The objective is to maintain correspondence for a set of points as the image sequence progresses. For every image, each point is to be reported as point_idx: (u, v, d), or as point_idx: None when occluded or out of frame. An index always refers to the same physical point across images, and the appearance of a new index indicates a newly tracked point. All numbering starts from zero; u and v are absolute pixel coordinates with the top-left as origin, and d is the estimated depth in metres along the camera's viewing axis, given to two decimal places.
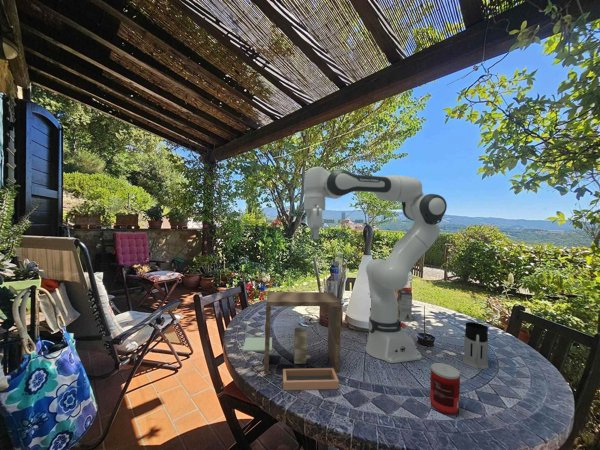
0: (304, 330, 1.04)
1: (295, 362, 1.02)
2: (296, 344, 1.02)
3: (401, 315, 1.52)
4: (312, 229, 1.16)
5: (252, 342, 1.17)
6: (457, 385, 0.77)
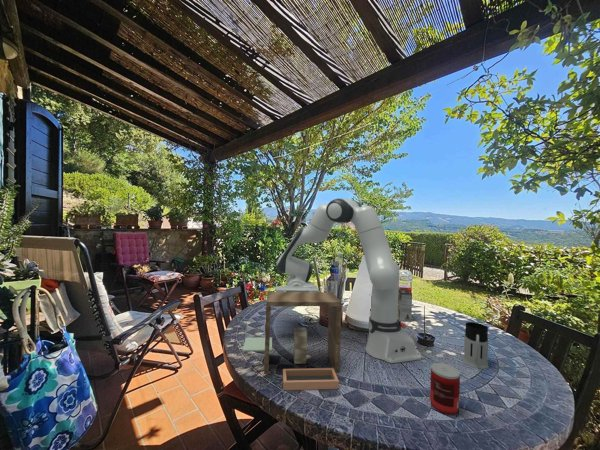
0: (304, 330, 1.04)
1: (295, 362, 1.02)
2: (296, 344, 1.02)
3: (401, 315, 1.52)
4: None
5: (252, 342, 1.17)
6: (457, 385, 0.77)
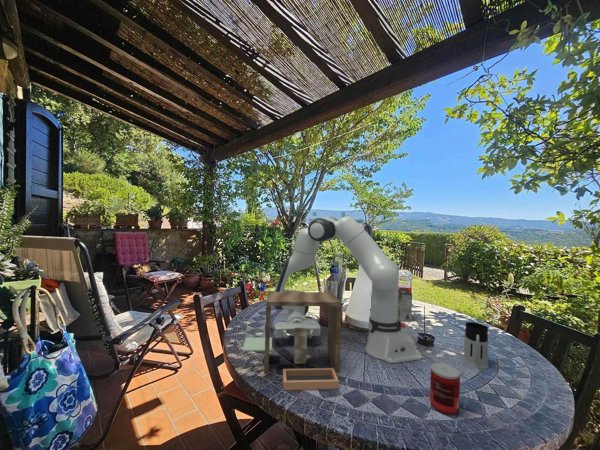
0: (304, 330, 1.04)
1: (295, 362, 1.02)
2: (296, 344, 1.02)
3: (401, 315, 1.52)
4: (309, 333, 1.15)
5: (252, 342, 1.17)
6: (457, 385, 0.77)
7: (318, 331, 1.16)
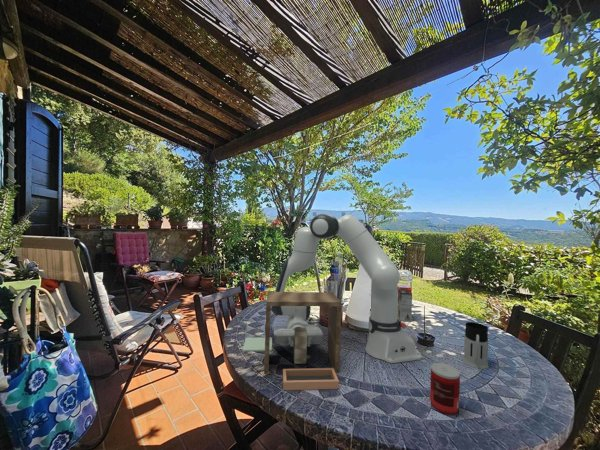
0: (304, 330, 1.04)
1: (295, 362, 1.02)
2: (296, 344, 1.02)
3: (401, 315, 1.52)
4: (307, 340, 1.07)
5: (252, 342, 1.17)
6: (457, 385, 0.77)
7: (321, 338, 1.09)
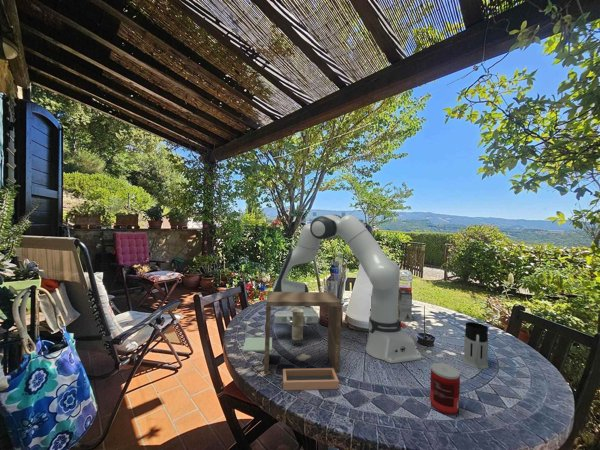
0: (301, 310, 1.18)
1: (293, 338, 1.16)
2: (294, 322, 1.16)
3: (401, 315, 1.52)
4: None
5: (252, 342, 1.17)
6: (457, 385, 0.77)
7: (316, 319, 1.23)
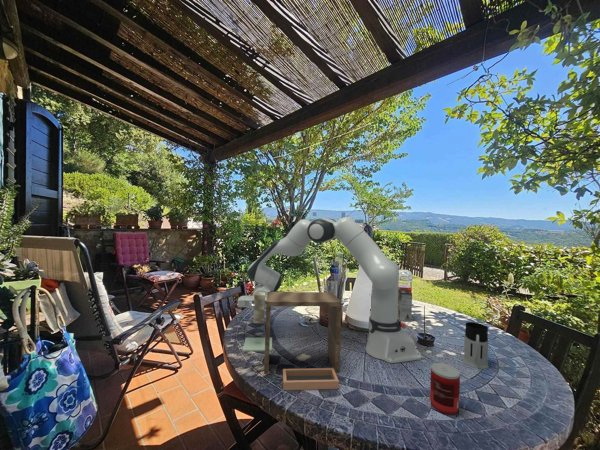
0: (262, 294, 1.16)
1: (254, 322, 1.14)
2: (255, 306, 1.14)
3: (401, 315, 1.52)
4: None
5: (252, 342, 1.17)
6: (457, 385, 0.77)
7: None
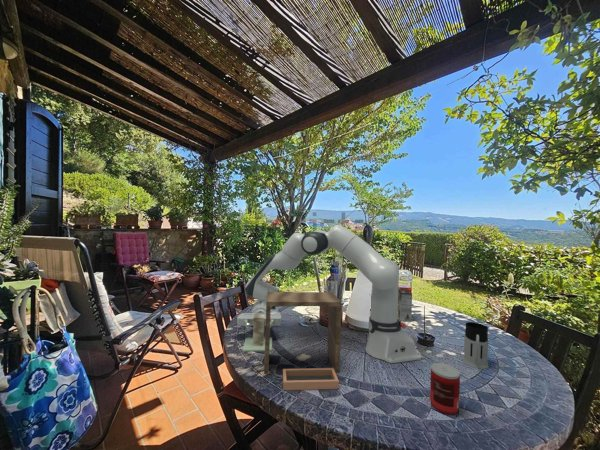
0: (262, 316, 1.16)
1: (253, 344, 1.14)
2: (254, 328, 1.14)
3: (401, 315, 1.52)
4: None
5: (252, 342, 1.17)
6: (457, 385, 0.77)
7: (279, 321, 1.21)
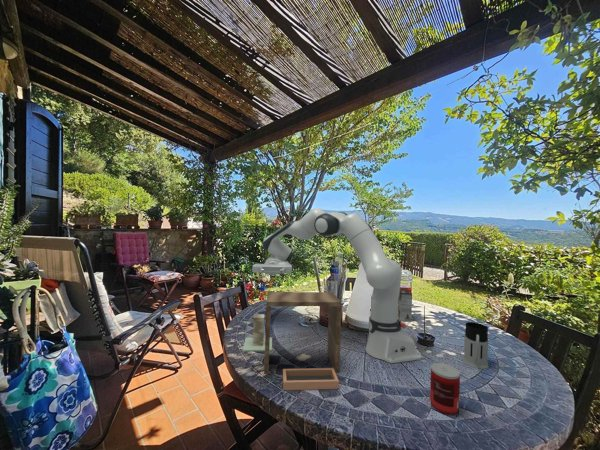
0: (262, 316, 1.16)
1: (253, 344, 1.14)
2: (254, 328, 1.14)
3: (401, 315, 1.52)
4: None
5: (252, 342, 1.17)
6: (457, 385, 0.77)
7: (290, 269, 1.35)
